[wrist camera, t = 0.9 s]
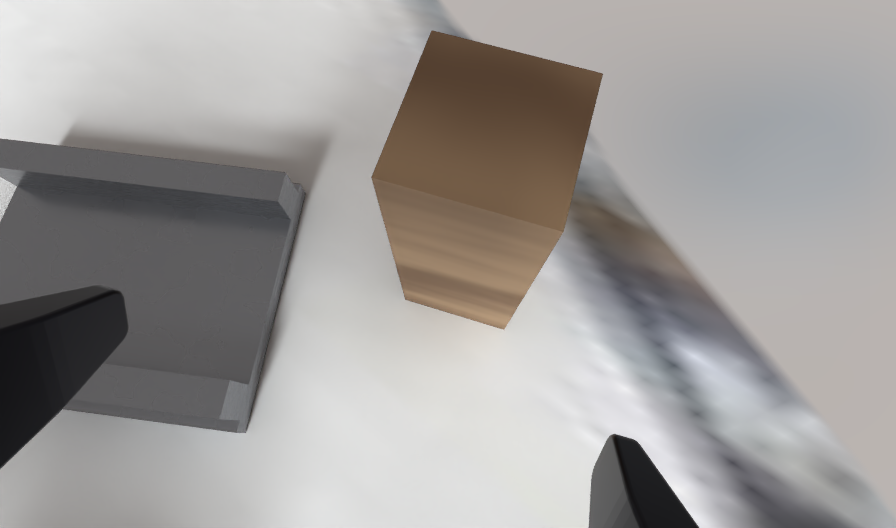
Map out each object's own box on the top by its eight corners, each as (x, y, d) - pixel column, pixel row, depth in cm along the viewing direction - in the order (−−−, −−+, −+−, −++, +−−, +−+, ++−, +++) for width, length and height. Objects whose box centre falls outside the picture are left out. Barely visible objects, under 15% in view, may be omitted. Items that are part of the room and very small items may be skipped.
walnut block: (504, 329, 23) (563, 231, 12) (405, 299, 24) (371, 177, 12) (529, 237, 25) (603, 73, 13) (436, 210, 25) (431, 30, 14)
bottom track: (245, 432, 21) (215, 432, 19) (-57, 391, 22) (-131, 385, 19) (305, 193, 25) (288, 163, 23) (48, 162, 26) (-1, 129, 23)
